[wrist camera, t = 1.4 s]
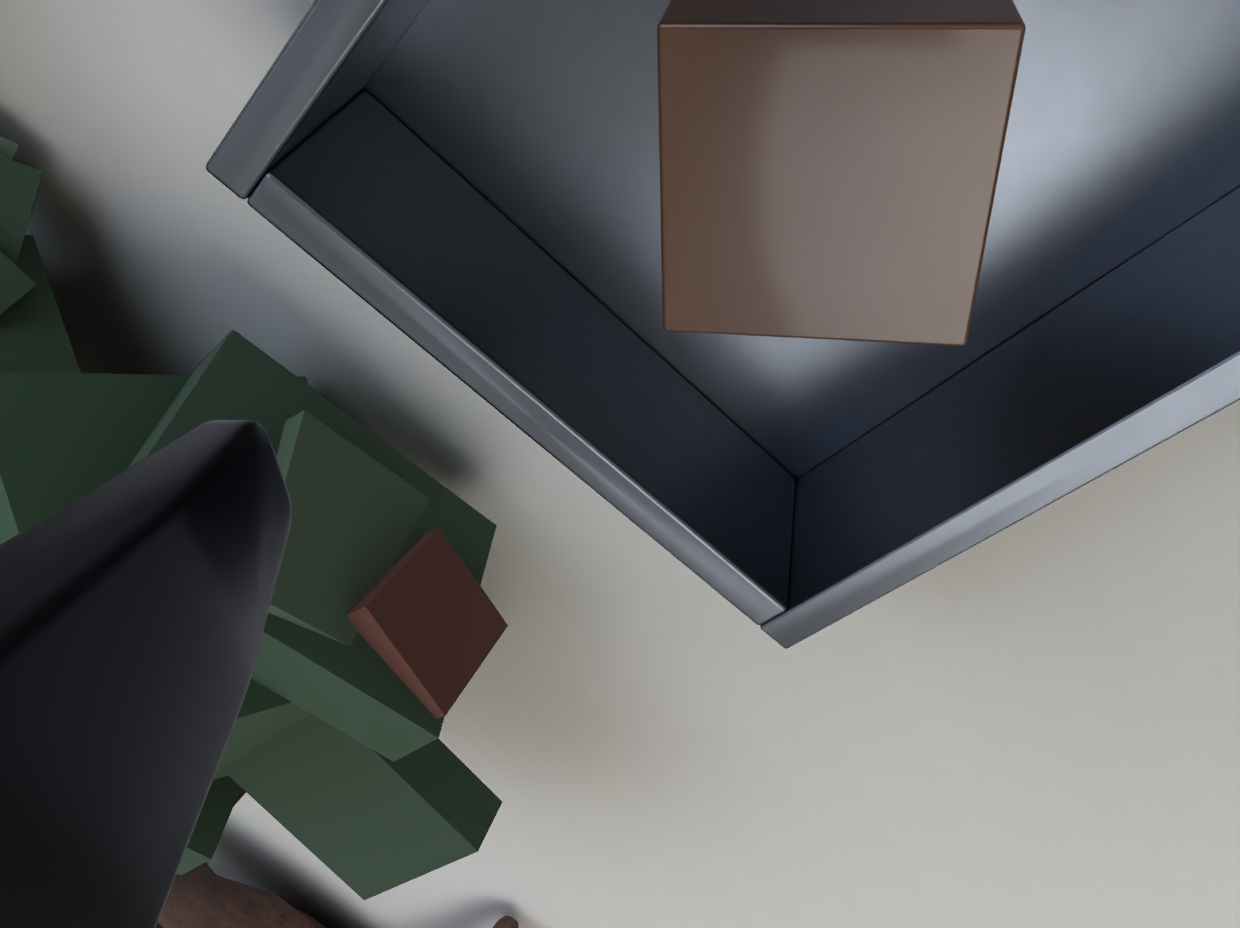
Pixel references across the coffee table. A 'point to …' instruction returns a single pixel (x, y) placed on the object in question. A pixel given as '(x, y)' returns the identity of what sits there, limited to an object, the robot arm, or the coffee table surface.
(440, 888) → the coffee table surface
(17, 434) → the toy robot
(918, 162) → the cube
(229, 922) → the figurine
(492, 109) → the open box
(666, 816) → the coffee table surface
